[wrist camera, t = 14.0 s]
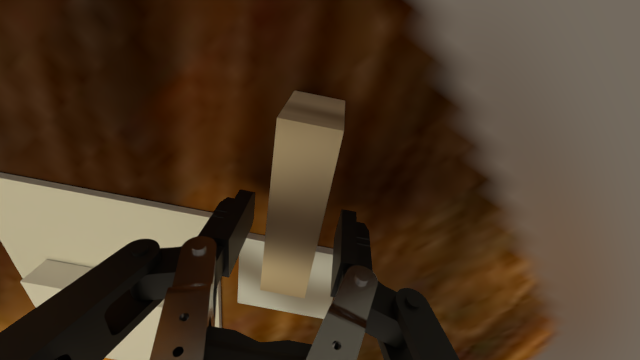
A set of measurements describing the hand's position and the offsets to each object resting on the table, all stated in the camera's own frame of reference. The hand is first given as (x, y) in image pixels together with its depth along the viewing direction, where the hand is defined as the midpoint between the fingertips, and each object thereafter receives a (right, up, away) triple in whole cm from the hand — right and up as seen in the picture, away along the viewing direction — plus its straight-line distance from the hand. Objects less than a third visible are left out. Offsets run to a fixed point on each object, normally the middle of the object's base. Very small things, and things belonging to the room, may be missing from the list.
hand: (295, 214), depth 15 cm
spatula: (0, -1, +3) cm, 4 cm away
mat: (-15, -6, +8) cm, 18 cm away
